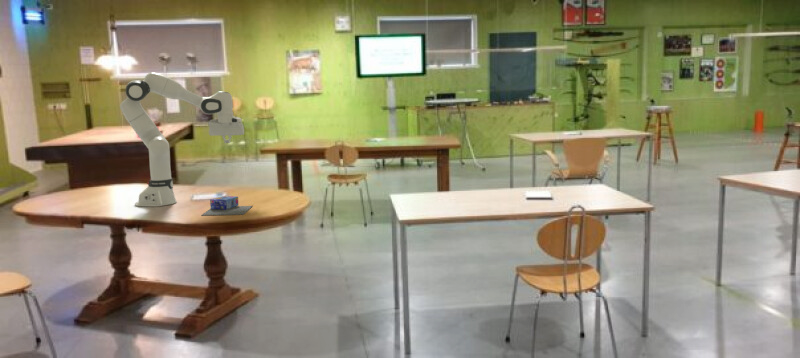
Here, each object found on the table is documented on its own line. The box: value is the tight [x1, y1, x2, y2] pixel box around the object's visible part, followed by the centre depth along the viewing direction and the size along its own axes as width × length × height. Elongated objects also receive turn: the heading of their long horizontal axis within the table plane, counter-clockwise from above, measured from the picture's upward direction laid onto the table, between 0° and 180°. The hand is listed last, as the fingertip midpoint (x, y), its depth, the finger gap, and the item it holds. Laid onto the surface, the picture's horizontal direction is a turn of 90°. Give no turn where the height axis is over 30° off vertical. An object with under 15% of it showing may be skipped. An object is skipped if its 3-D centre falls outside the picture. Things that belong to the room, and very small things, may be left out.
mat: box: [201, 205, 253, 217], centre depth 344 cm, size 22×20×1 cm
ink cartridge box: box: [209, 195, 239, 210], centre depth 350 cm, size 10×6×14 cm
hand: (227, 143), depth 375 cm, fingers closed
